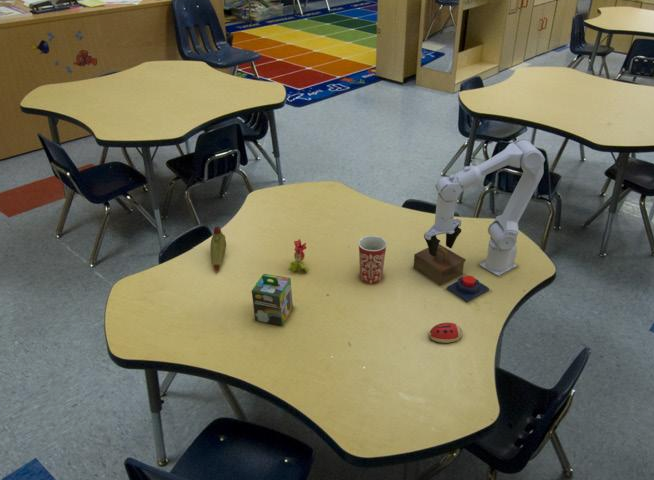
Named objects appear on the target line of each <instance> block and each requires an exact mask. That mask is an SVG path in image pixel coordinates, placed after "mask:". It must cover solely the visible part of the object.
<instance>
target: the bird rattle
mask: <svg viewBox="0 0 654 480" xmlns="http://www.w3.org/2000/svg"><path fill="white" fill-rule="evenodd" d="M293 244H294V251H295V252H294V255H293V257H294V259H295V260H292V261H291V262H290V265H289V267H288V271H292V272H293V273H295V272H296V271H297V270H298V269H300V270H303V271H304V272H306V273H307V272H308V267H307V266H305V265H304V264H302V262H303V260H305V256H306V255H305V254H306V253H305V252H304V251H305V250H306V249H307V242H304V243H303V244H302V240H301V239H300V238H299V239H298V240H294V241H293Z"/></svg>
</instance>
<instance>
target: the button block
mask: <svg viewBox="0 0 654 480" xmlns="http://www.w3.org/2000/svg"><path fill="white" fill-rule="evenodd" d="M463 277H464V276H460V277H459V278H458V279H457V281H454V282H453V283H451V284H449V285H447V286H446V290H447V291H448V292H450V293H452V294H453V295H454V296H456V297H458V298H459V299H461V300H462V301H464V302H465V303H469V302H471V301H473V300H475V299H476V298H479V297H480V296H483V295H484V294H486V293H488V292H489V290H490V288H489V286H487V285H485V284H483V283H481V282H480V281H479V280H478V279H477V278H475V279H476V282H475V286H474V287H466V286H464V285H463V284H462V280H463Z"/></svg>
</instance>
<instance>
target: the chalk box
mask: <svg viewBox="0 0 654 480" xmlns="http://www.w3.org/2000/svg"><path fill="white" fill-rule="evenodd" d="M291 279H292V278H291V277H287V276H281V275H274V274H267V273H263V274H262V275H261V276H260V278H259V279H258V280H257V282H256V283H255V285H254V286H253V288H252V289H251V299H252V305H253V313H254V321H258V322H262V323H267V324H271V325H276V326H280V327H282V326H284V324H285V322H286V320H287V319H288V317H289V316H290V314H291V312H292V311H293V309H294V303H293V291H292V280H291Z"/></svg>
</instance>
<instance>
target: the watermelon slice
mask: <svg viewBox="0 0 654 480" xmlns="http://www.w3.org/2000/svg"><path fill="white" fill-rule="evenodd" d="M428 336H429V338H430V339H431V340H433V341H435V342H438V343H441V344H442V343H443V344H444V343H445V344H446V343H453V342H457V341H459V340H460V339H462V337H463V330H462V328H461V326H460V325H459V324H457V323H455V322H442V323H438V324H436V325H434V326H433V327H432V328H431V329H430V331H429V333H428Z"/></svg>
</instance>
